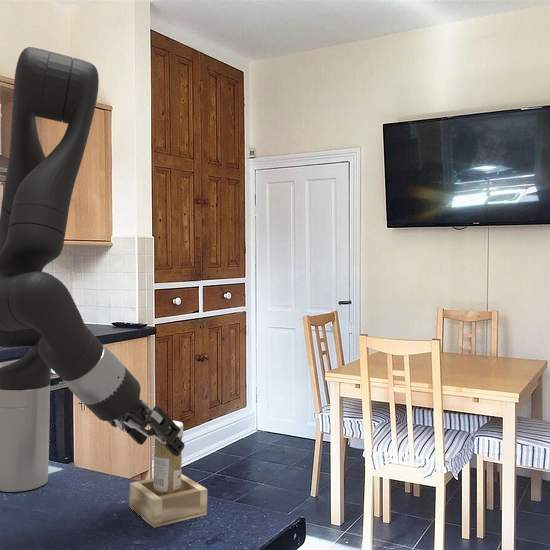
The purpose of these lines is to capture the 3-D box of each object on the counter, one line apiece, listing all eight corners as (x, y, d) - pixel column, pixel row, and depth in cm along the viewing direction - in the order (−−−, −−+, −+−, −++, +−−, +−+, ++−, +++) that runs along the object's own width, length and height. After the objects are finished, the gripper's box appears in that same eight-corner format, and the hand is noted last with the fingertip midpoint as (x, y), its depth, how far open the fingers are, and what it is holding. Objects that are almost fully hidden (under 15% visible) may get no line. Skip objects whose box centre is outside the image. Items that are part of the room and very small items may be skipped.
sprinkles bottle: (186, 509, 97) (188, 424, 97) (158, 515, 94) (161, 428, 94) (174, 500, 101) (176, 418, 101) (147, 505, 98) (149, 421, 98)
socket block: (129, 507, 99) (130, 483, 99) (179, 496, 104) (180, 473, 104) (153, 527, 91) (154, 500, 91) (206, 514, 97) (207, 489, 97)
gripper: (148, 366, 85) (206, 433, 94) (88, 355, 94) (146, 417, 103) (115, 411, 81) (179, 477, 90) (56, 394, 90) (119, 455, 99)
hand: (161, 445), depth 97 cm, fingers open, 8 cm apart
